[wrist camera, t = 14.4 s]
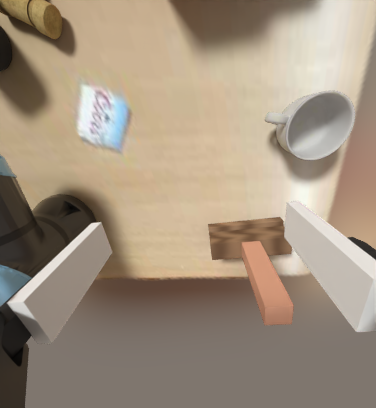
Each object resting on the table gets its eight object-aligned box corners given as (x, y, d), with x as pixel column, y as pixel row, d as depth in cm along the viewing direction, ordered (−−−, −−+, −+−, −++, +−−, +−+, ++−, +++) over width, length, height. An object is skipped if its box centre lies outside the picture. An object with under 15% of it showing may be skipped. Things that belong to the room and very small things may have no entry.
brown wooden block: (210, 246, 51) (212, 264, 44) (208, 224, 48) (209, 239, 42) (278, 240, 49) (290, 257, 43) (280, 217, 46) (293, 232, 40)
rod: (242, 256, 43) (264, 325, 28) (241, 242, 42) (265, 307, 27) (259, 255, 43) (291, 324, 28) (259, 240, 41) (293, 305, 26)
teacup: (337, 111, 36) (372, 108, 29) (302, 162, 41) (325, 170, 33) (276, 79, 35) (296, 68, 28) (246, 135, 39) (258, 138, 32)
